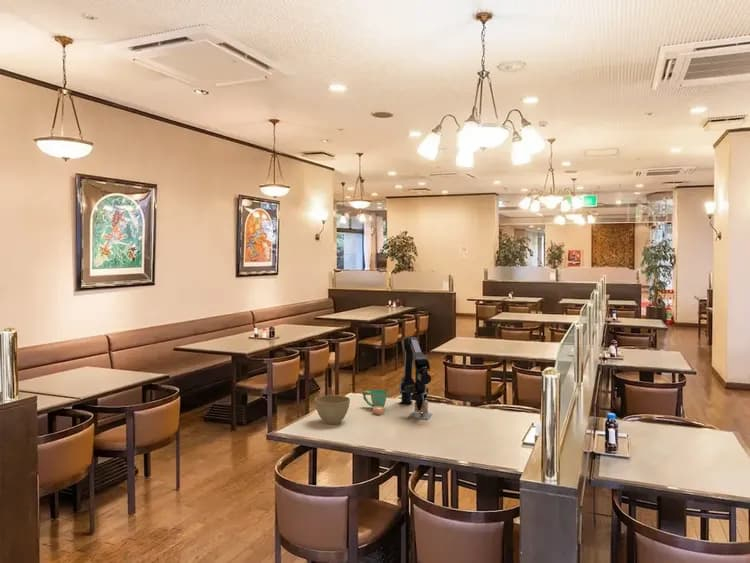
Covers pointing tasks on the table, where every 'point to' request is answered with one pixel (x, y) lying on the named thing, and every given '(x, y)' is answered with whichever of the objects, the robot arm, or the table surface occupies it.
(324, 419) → the flower pot
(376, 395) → the mug
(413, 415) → the slate coaster
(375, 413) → the peach egg shape
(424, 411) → the light wood block
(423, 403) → the walnut block
